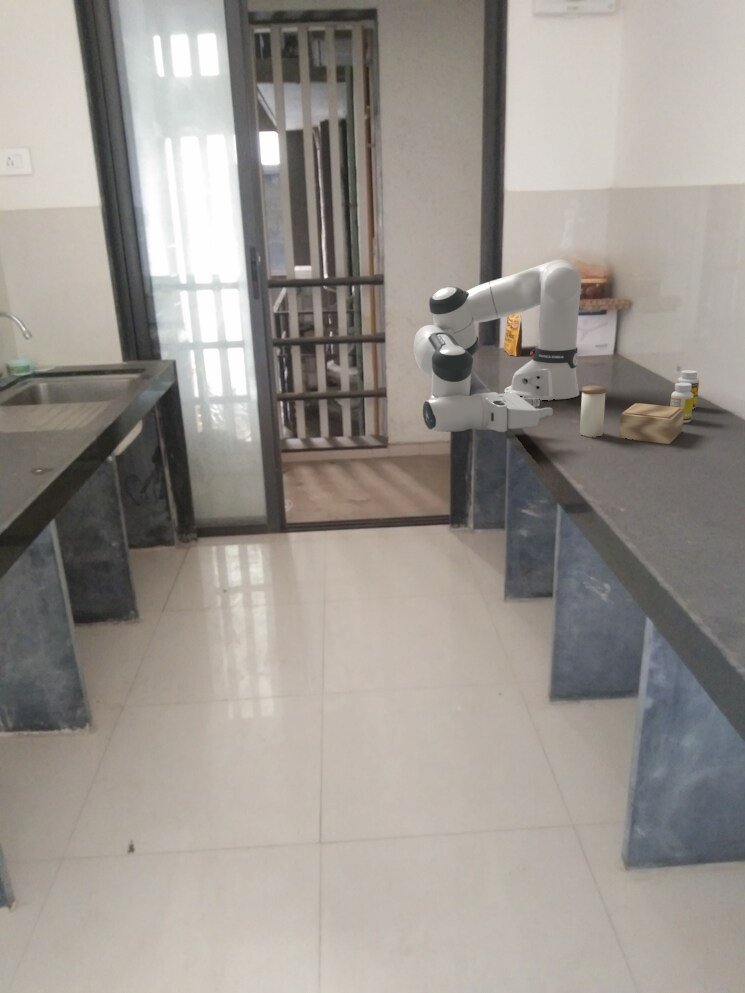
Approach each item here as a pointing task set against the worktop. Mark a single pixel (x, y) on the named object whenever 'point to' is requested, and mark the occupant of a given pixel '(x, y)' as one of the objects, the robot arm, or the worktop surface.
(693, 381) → the supplement bottle
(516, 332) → the pancake mix bag
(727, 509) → the worktop surface
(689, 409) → the supplement bottle
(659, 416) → the oak block
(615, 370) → the worktop surface
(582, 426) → the cream tin
